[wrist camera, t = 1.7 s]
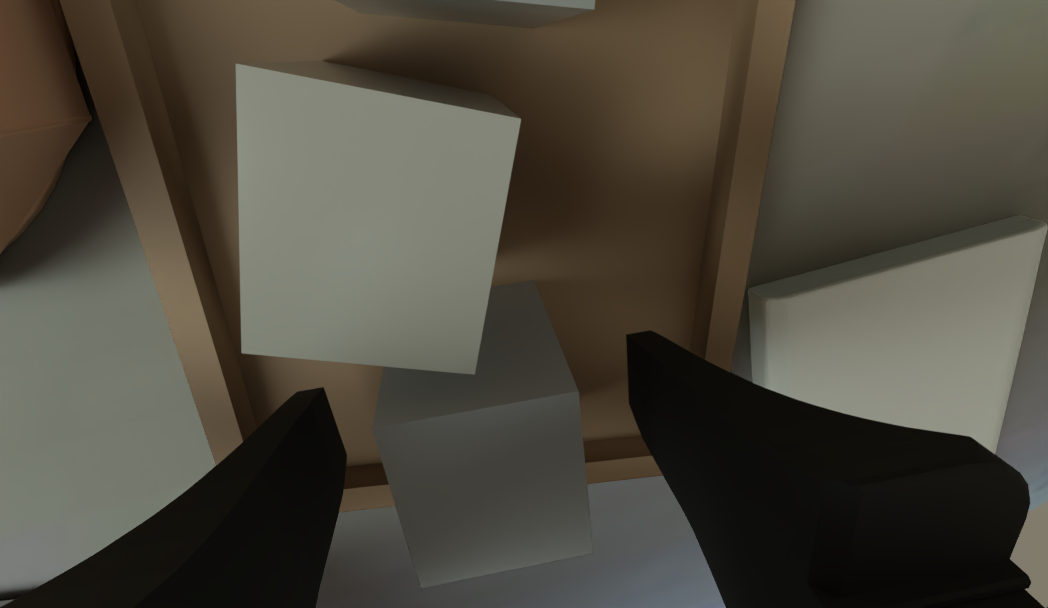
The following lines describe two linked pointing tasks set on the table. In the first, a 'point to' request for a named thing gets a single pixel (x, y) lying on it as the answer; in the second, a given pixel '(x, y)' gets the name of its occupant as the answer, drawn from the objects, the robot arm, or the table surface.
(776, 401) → the robot arm
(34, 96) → the bowl
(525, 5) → the stone
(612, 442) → the tray
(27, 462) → the table surface
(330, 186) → the stone
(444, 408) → the stone
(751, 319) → the external hard drive
